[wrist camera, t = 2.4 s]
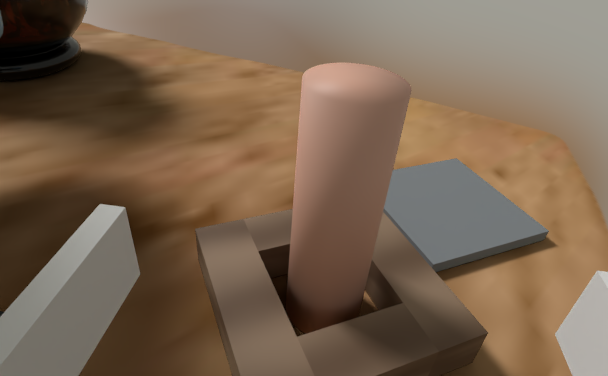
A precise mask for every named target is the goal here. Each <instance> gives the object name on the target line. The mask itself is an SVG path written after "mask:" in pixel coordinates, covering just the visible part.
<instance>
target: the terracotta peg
mask: <svg viewBox="0 0 608 376" xmlns="http://www.w3.org/2000/svg"><path fill="white" fill-rule="evenodd" d="M410 94H411V86H410V84H409V83H408V82H407V81H406V80H405V79H403V78H402V77H401V76H399V75H397V74H395V73H393V72H391V71H388V70H385V69H382V68H378V67H374V66H370V65H364V64H357V63H328V64H322V65H318V66H315V67H312V68H310V69H308V70H307V71H306V72H305V73H304V74H303V77H302V89H301V103H300V117H299V131H298V145H297V158H296V172H295V186H294V200H293V213H292V227H291V241H290V255H289V269H288V282H287V296H286V311H287V314H288V317H289V319H290V320H291V322H292V323H293V324H294V325H295V326H296V327H297V328H298V329H299V330H301V331H302V332H304V333H306V334H307V333H310V332H314V331H317V330H320V329H323V328H326V327H329V326H332V325H336V324H339V323H342V322H345V321H348V320H351V319H354V318H357V317H358V316H359V312H360V308H361V303H362V299H363V295H364V291H365V286H366V282H367V278H368V274H369V269H370V265H371V261H372V257H373V252H374V248H375V244H376V239H377V235H378V231H379V227H380V222H381V218H382V214H383V210H384V205H385V201H386V197H387V193H388V188H389V184H390V180H391V175H392V171H393V167H394V163H395V158H396V154H397V150H398V146H399V141H400V137H401V133H402V129H403V124H404V120H405V116H406V111H407V107H408V103H409V99H410Z"/></svg>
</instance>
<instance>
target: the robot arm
mask: <svg viewBox="0 0 608 376" xmlns="http://www.w3.org/2000/svg"><path fill="white" fill-rule="evenodd" d="M2 34H3V21H2V16H1V11H0V37H1V36H2ZM139 276H140V270H139V266H138V261H137V257H136V252H135V248H134V243H133V239H132V235H131V230H130V226H129V221H128V217H127V212H126V208H125V207H120V206H112V205H105V204H99V205H98V207H97V208H96V209H95V210H94V211H93V212H92V213H91V215H90V216H89V217H88V218H87V219H86V220H85V221H84V222H83V224H82V225H81V226H80V227H79V228H78V229H77V230H76V232H75V233H74V234H73V235H72V236H71V237H70V238H69V239H68V241H67V242H66V243H65V244H64V245H63V246H62V247H61V249H60V250H59V251H58V252H57V253H56V254H55V255H54V257H53V258H52V259H51V260H50V261H49V262H48V263H47V264H46V266H45V267H44V268H43V269H42V270H41V271H40V272H39V274H38V275H37V276H36V277H35V278H34V279H33V280H32V281H31V283H30V284H29V285H28V286H27V287H26V288H25V289H24V291H23V292H22V293H21V294H20V295H19V296H18V297H17V298H16V300H15V301H14V302H13V303H12V304H11V305H10V306H9V308H8V309H7V310H6V311H5V312H2V311H0V376H79V374H80V373H81V371H82V369H83V368H84V366H85V364H86V363H87V361H88V359H89V358H90V356H91V355H92V353H93V351H94V350H95V348H96V346H97V345H98V343H99V341H100V340H101V338H102V336H103V335H104V333H105V332H106V330H107V328H108V327H109V325H110V323H111V322H112V320H113V318H114V317H115V315H116V313H117V312H118V310H119V309H120V307H121V305H122V304H123V302H124V300H125V299H126V297H127V295H128V294H129V292H130V290H131V289H132V287H133V286H134V284H135V282H136V281H137V279H138V277H139ZM555 335H556V338H557V340H558V342H559V345H560V347H561V349H562V352H563V354H564V357H565V359H566V361H567V364H568V366H569V368H570V371H571V373H572V375H573V376H608V272H603V271H597V272H596V273H595V275H594V276H593V278H592V279H591V281H590V282H589V284H588V285H587V287H586V288H585V290H584V291H583V293H582V294H581V296H580V297H579V299H578V300H577V302H576V303H575V305H574V306H573V308H572V309H571V311H570V312H569V314H568V315H567V317H566V318H565V320H564V321H563V323H562V324H561V326H560V328H559V329H558V331H557V332H556V334H555Z"/></svg>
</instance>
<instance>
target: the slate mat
mask: <svg viewBox="0 0 608 376" xmlns="http://www.w3.org/2000/svg"><path fill="white" fill-rule="evenodd" d="M383 212H384V213H385V214H386V215H387V217H388V218H389V219H390V220H391V221H392V222H393V224H394V225H395V226H396V227H397V228H398V229H399V231H400V232H401V233H402V234H403V235H404V236H405V237H406V239H407V240H408V241H409V242H410V243H411V244H412V246H413V247H414V248H415V249H416V250H417V251H418V252H419V254H420V255H421V256H422V257H423V258H424V259H425V261H426V262H427V263H428V264H429V265H430V266H431V267H432V269H433V270H434V271H435V272H438V271H441V270H445V269H448V268H451V267H455V266H458V265H461V264H465V263H468V262H471V261H475V260H478V259H482V258H485V257H488V256H492V255H495V254H498V253H502V252H505V251H508V250H512V249H515V248H518V247H522V246H525V245H528V244H532V243H535V242H538V241H542V240H544V239H545V237H546V235H547V234H548V232H549V231H548V230H547V229H546V228H544V227H543V226H542V225H541V224H539V223H538V222H537V221H535V220H534V219H533V218H532V217H530V216H529V215H528V214H527V213H525V212H524V211H523V210H521V209H520V208H519V207H518V206H516V205H515V204H514V203H513V202H511V201H510V200H509V199H507V198H506V197H505V196H504V195H502V194H501V193H500V192H499V191H497V190H496V189H495V188H493V187H492V186H491V185H490V184H488V183H487V182H486V181H485V180H483V179H482V178H481V177H479V176H478V175H477V174H476V173H474V172H473V171H472V170H471V169H469V168H468V167H467V166H465V165H464V164H463V163H462V162H460V161H459V160H458V159H457V158H456V159H451V160H445V161H440V162H434V163H429V164H424V165H418V166H413V167H407V168H402V169H397V170H393V171H392V175H391V180H390V184H389V188H388V193H387V197H386V201H385V205H384V210H383Z"/></svg>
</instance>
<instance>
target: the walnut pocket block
mask: <svg viewBox="0 0 608 376" xmlns="http://www.w3.org/2000/svg"><path fill="white" fill-rule="evenodd" d="M292 213H293V209H291V210H286V211H281V212H276V213H271V214H266V215H261V216H256V217H251V218H246V219H242V220H237V221H232V222H227V223H222V224H217V225H212V226H207V227H202V228H197V229H195V232H196V241H197V251H198V260H199V263H200V266H201V270H202V273H203V277H204V280H205V284H206V287H207V290H208V294H209V297H210V301H211V304H212V308H213V311H214V314H215V318H216V321H217V325H218V328H219V331H220V335H221V338H222V342H223V345H224V349H225V352H226V355H227V359H228V362H229V366H230V369H231V373H232V376H440V375H442V374H445V373H447V372H450V371H452V370H455V369H457V368H459V367H462V366H464V365H467V364H469V363H472V362H473V360H474V358H475V356H476V354H477V352H478V351H479V349H480V347H481V345H482V343H483V341H484V339H485V338H486V336H487V334H488V332H487V331H486V330H485V329H484V328H483V326H482V325H481V324H480V323H479V322H478V321H477V319H476V318H475V317H474V316H473V315H472V314H471V313H470V311H469V310H468V309H467V308H466V307H465V306H464V304H463V303H462V302H461V301H460V300H459V299H458V298H457V296H456V295H455V294H454V293H453V292H452V291H451V289H450V288H449V287H448V286H447V285H446V284H445V282H444V281H443V280H442V279H441V278H440V277H439V276H438V274H437V273H436V272H435V271H434V270H433V269H432V267H431V266H430V265H429V264H428V263H427V262H426V261H425V259H424V258H423V257H422V256H421V255H420V254H419V252H418V251H417V250H416V249H415V248H414V247H413V246H412V244H411V243H410V242H409V241H408V240H407V239H406V237H405V236H404V235H403V234H402V233H401V232H400V231H399V229H398V228H397V227H396V226H395V225H394V224H393V222H392V221H391V220H390V219H389V218H388V217H387V215H386V214H385V213H384V212H383V214H382V218H381V222H380V227H379V231H378V235H377V239H376V244H375V248H374V252H373V257H372V261H371V265H370V269H369V274H368V278H367V282H366V286H365V290H366V292H367V293H368V295H369V296H370V298H371V299H372V301H373V302H374V304H375V305H376V307H377V308H378V310H379V311H376V312H373V313H370V314H367V315H364V316H361V317H357V318H354V319H351V320H348V321H345V322H342V323H339V324H336V325H332V326H329V327H326V328H323V329H320V330H317V331H314V332H310V333H307V334H304V335H301V336H298V337H297V336H296V334H295V332H294V329H293V327H292V325H291V323H290V321H289V318H288V316H287V314H286V312H285V310H284V307H283V305H282V303H281V301H280V299H279V296H278V294H277V292H276V290H275V288H274V285H273V283H272V281H271V279H270V278H273V277H277V276H281V275H285V274H288V269H289V255H290V241H291V227H292Z"/></svg>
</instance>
